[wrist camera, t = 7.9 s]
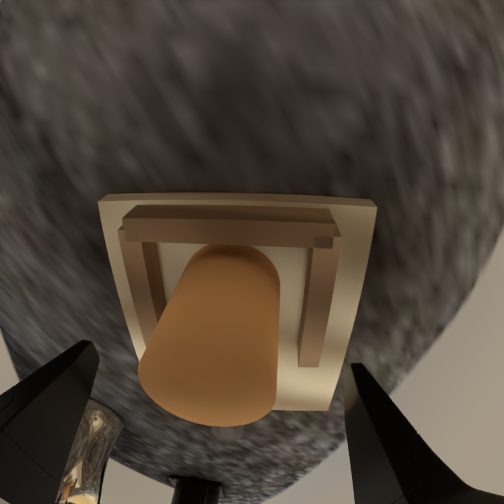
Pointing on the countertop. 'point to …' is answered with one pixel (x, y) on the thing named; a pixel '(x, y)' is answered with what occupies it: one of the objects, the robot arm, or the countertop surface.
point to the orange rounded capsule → (217, 339)
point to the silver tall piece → (90, 455)
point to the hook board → (271, 245)
